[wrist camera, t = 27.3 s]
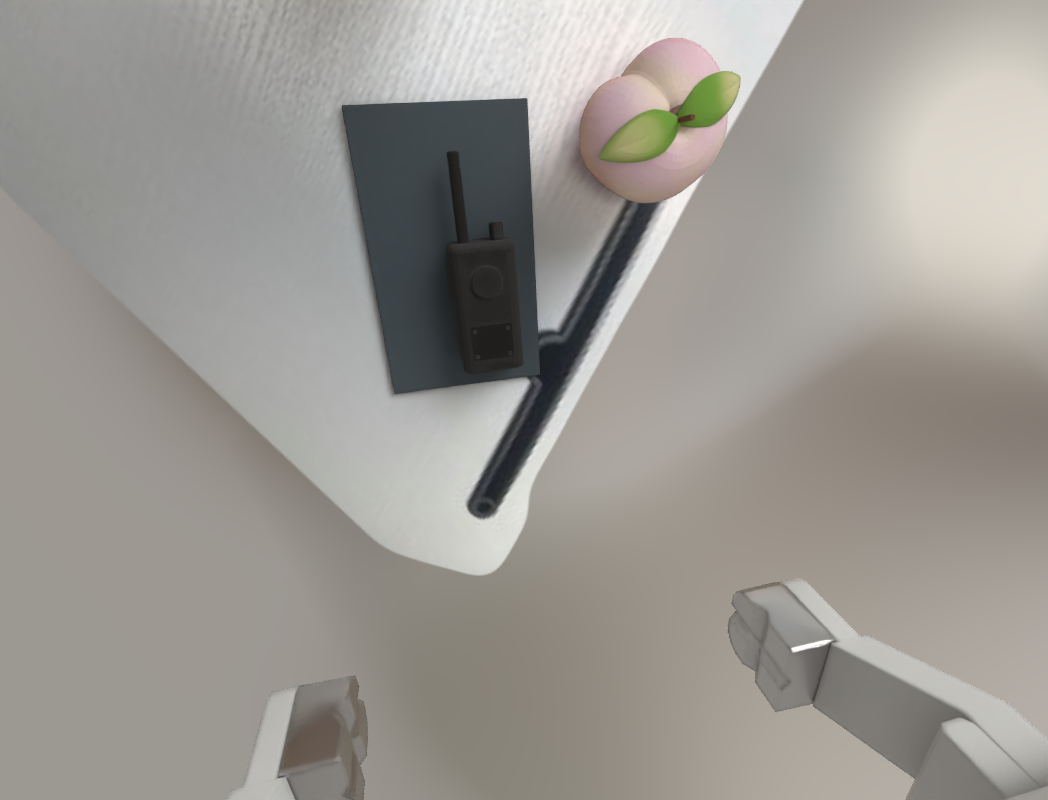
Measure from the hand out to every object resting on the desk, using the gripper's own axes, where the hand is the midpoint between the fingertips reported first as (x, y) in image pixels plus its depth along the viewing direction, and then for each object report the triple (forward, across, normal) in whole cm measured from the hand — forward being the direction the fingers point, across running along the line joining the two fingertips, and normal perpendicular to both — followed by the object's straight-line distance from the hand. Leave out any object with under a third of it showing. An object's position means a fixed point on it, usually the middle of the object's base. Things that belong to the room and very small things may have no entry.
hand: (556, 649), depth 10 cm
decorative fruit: (+31, +14, +11) cm, 36 cm away
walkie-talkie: (+29, +2, -5) cm, 29 cm away
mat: (+31, +1, +4) cm, 31 cm away
